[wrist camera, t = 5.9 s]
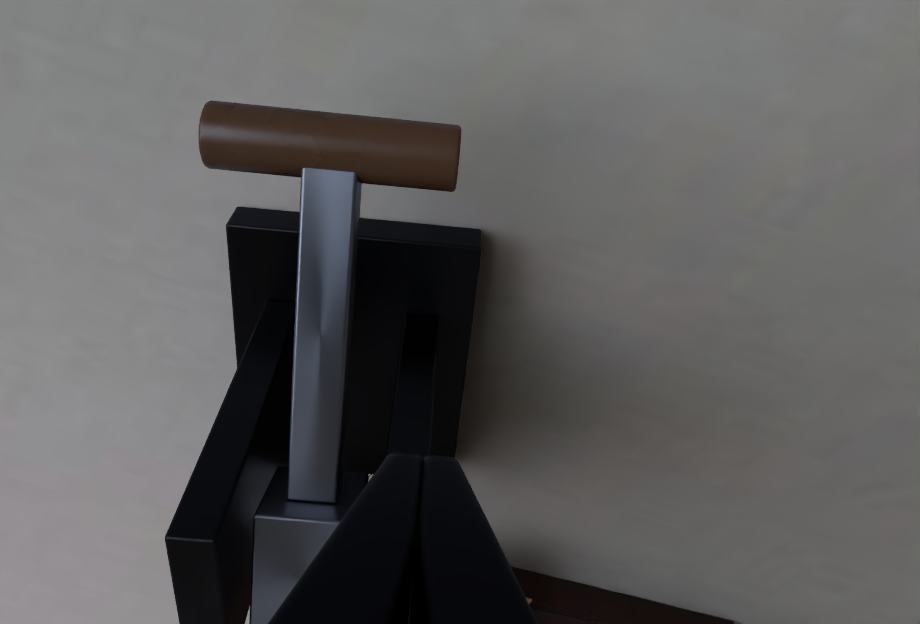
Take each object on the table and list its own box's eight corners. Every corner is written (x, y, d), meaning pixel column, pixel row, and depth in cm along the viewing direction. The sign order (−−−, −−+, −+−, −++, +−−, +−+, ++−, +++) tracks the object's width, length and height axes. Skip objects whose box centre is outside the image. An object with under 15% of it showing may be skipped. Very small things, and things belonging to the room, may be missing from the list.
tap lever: (225, 102, 16) (188, 97, 14) (460, 125, 16) (463, 125, 14) (216, 564, 18) (183, 627, 16) (417, 578, 19) (413, 643, 16)
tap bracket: (236, 205, 21) (88, 444, 13) (481, 228, 22) (489, 476, 13) (253, 440, 26) (153, 722, 18) (452, 456, 26) (445, 740, 18)
